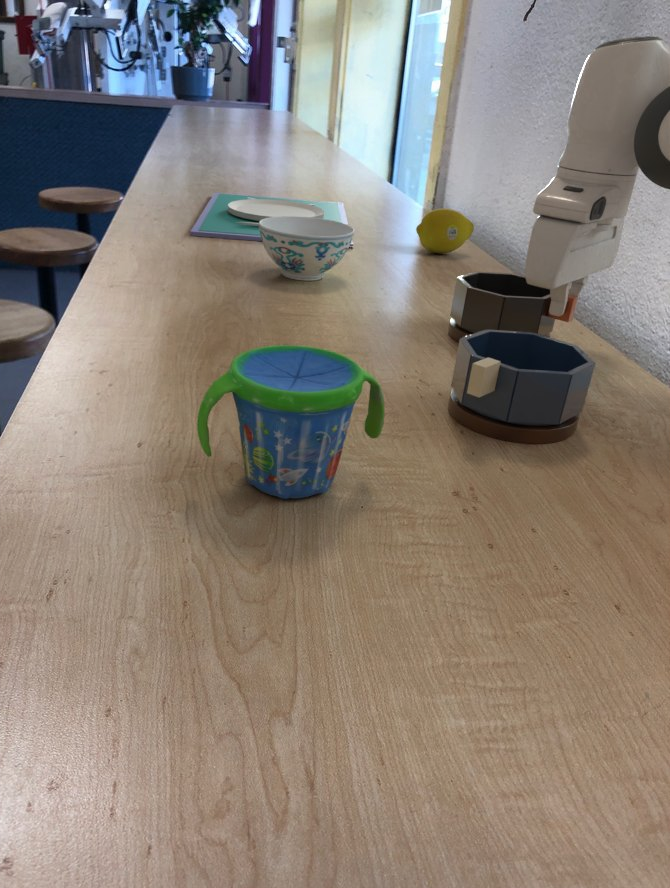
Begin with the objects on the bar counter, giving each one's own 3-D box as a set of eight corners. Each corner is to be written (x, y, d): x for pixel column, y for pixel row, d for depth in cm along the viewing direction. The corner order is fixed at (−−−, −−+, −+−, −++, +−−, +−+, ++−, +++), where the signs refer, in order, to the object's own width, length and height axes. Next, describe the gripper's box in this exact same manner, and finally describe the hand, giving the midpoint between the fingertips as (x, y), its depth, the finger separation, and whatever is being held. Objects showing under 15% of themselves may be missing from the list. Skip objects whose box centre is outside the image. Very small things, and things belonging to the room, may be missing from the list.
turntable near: (567, 401, 87) (570, 388, 87) (584, 452, 76) (588, 438, 75) (447, 385, 89) (450, 372, 88) (447, 433, 77) (450, 419, 77)
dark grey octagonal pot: (435, 323, 104) (443, 277, 101) (480, 307, 112) (488, 264, 109) (543, 355, 96) (555, 306, 93) (583, 334, 104) (595, 289, 101)
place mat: (214, 196, 185) (214, 185, 184) (342, 206, 186) (343, 196, 185) (190, 235, 146) (190, 223, 145) (352, 248, 147) (354, 235, 146)
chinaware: (368, 282, 126) (374, 232, 123) (295, 292, 118) (299, 239, 114) (308, 260, 136) (312, 214, 132) (238, 268, 128) (239, 219, 124)
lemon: (414, 255, 146) (421, 210, 142) (410, 246, 153) (416, 202, 149) (472, 260, 146) (481, 215, 142) (465, 250, 153) (473, 207, 149)
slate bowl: (493, 371, 89) (504, 319, 86) (597, 406, 82) (612, 351, 79) (414, 403, 79) (423, 346, 76) (525, 447, 72) (540, 386, 69)
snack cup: (206, 519, 60) (209, 395, 55) (187, 456, 69) (188, 345, 64) (396, 506, 64) (415, 389, 59) (356, 448, 73) (369, 342, 68)
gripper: (597, 186, 101) (570, 293, 108) (528, 198, 87) (502, 321, 94) (646, 194, 98) (615, 304, 104) (583, 208, 83) (552, 334, 90)
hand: (561, 312), depth 99 cm, fingers closed, pressing on dark grey octagonal pot
